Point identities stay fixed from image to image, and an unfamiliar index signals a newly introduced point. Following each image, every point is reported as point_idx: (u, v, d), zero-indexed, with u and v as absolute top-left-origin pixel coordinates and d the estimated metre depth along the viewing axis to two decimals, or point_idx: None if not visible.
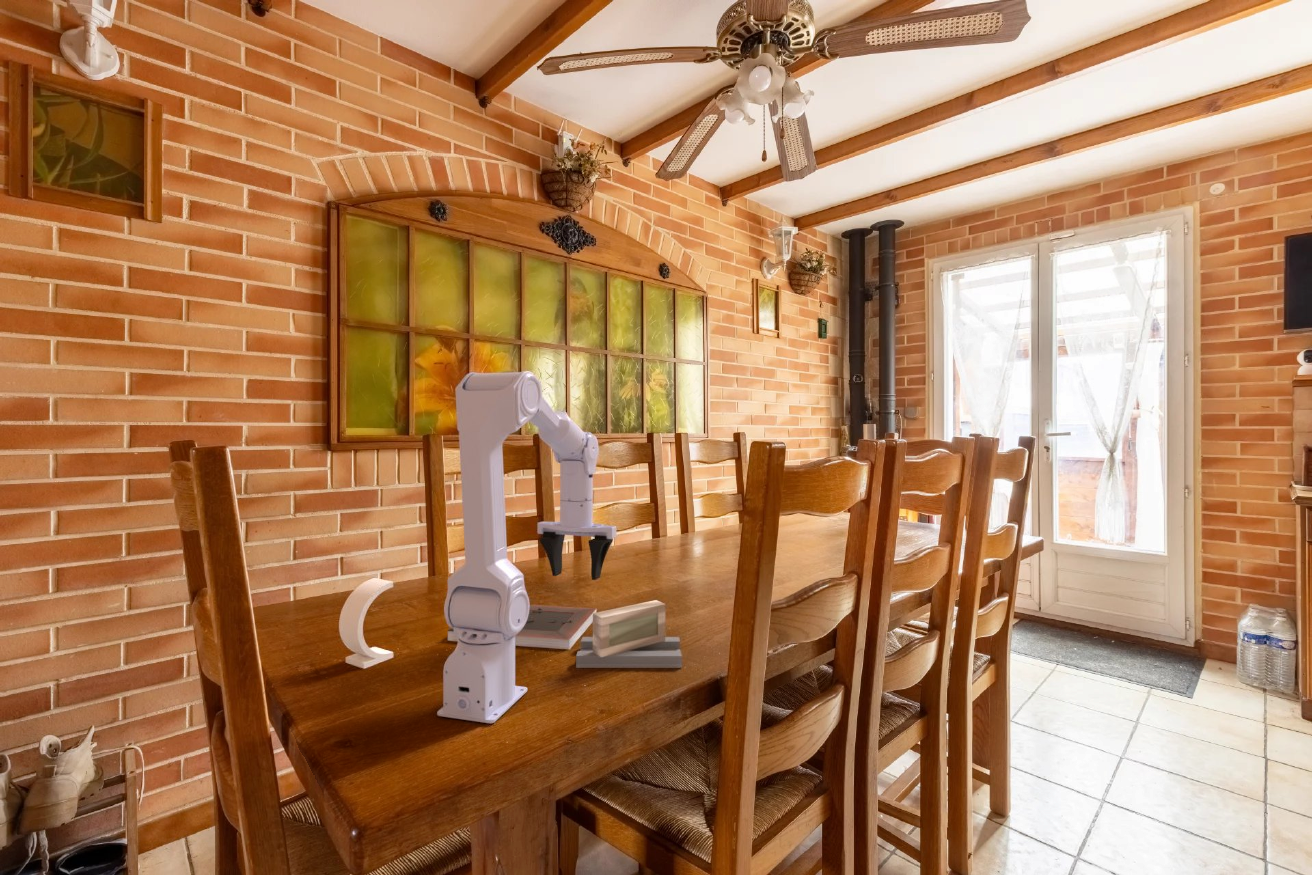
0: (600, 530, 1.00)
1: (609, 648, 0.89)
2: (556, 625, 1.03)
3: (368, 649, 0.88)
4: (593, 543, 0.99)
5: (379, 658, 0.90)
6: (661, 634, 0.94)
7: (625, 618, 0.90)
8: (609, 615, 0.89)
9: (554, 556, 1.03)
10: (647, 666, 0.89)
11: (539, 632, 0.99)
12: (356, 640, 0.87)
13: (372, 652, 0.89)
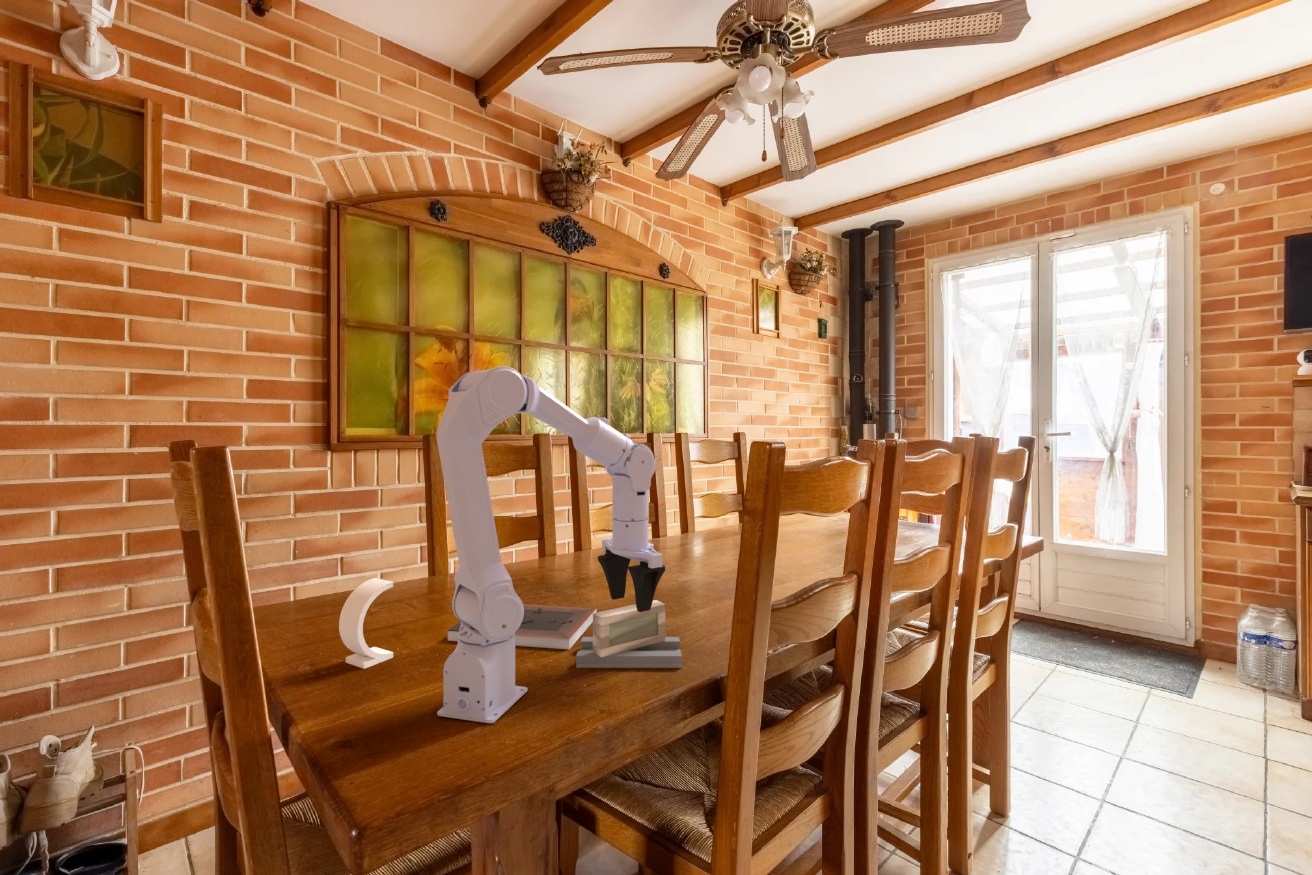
0: (642, 556, 0.87)
1: (609, 648, 0.89)
2: (556, 625, 1.03)
3: (368, 649, 0.88)
4: (631, 570, 0.87)
5: (379, 658, 0.90)
6: (661, 634, 0.94)
7: (625, 618, 0.90)
8: (609, 615, 0.89)
9: (611, 578, 0.95)
10: (647, 666, 0.89)
11: (539, 632, 0.99)
12: (356, 640, 0.87)
13: (372, 652, 0.89)
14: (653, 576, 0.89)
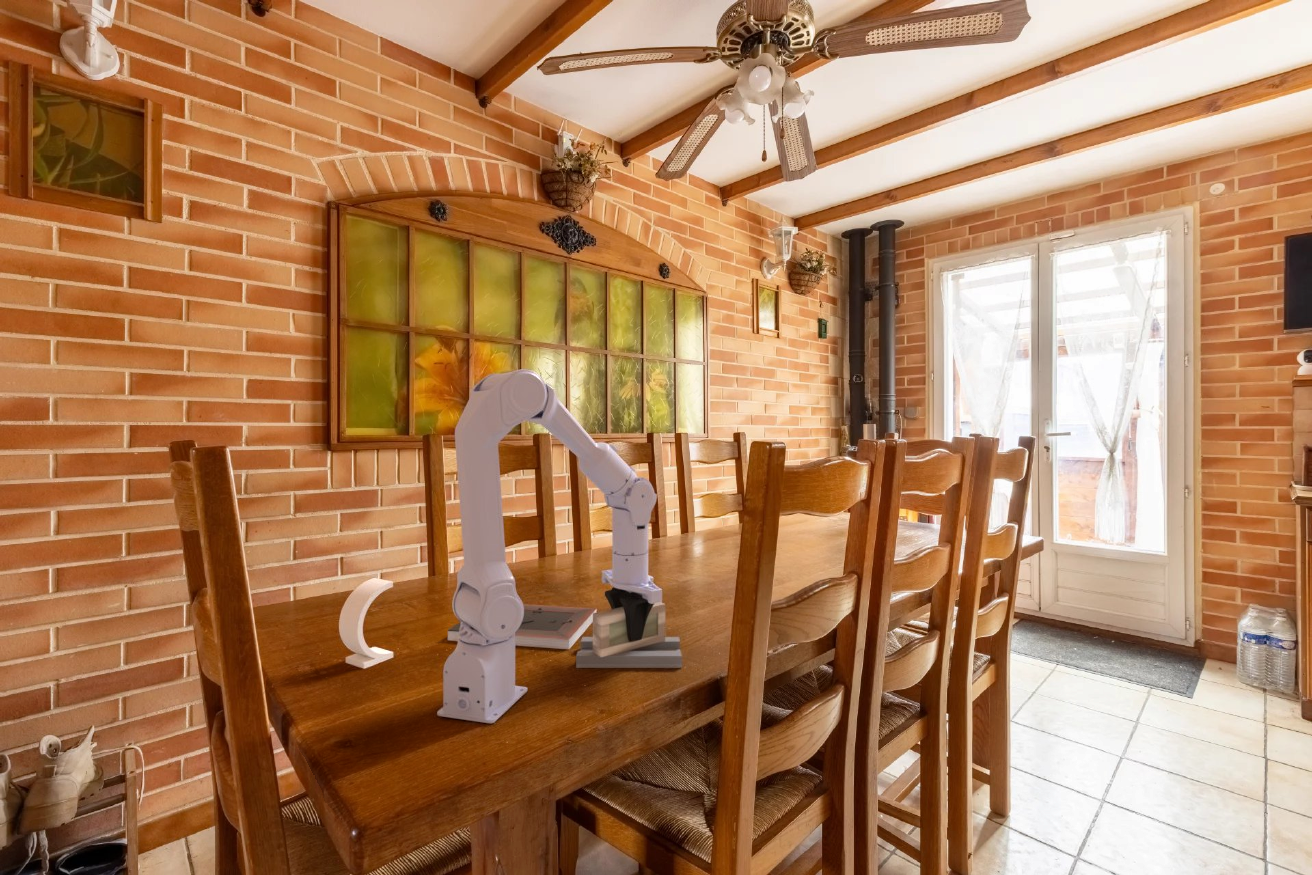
0: (641, 591, 0.87)
1: (609, 648, 0.89)
2: (555, 625, 1.03)
3: (368, 649, 0.88)
4: (623, 601, 0.89)
5: (379, 658, 0.90)
6: (661, 634, 0.94)
7: (625, 618, 0.90)
8: (609, 615, 0.89)
9: None
10: (647, 666, 0.89)
11: (539, 632, 0.99)
12: (356, 640, 0.87)
13: (372, 652, 0.89)
14: (644, 606, 0.91)
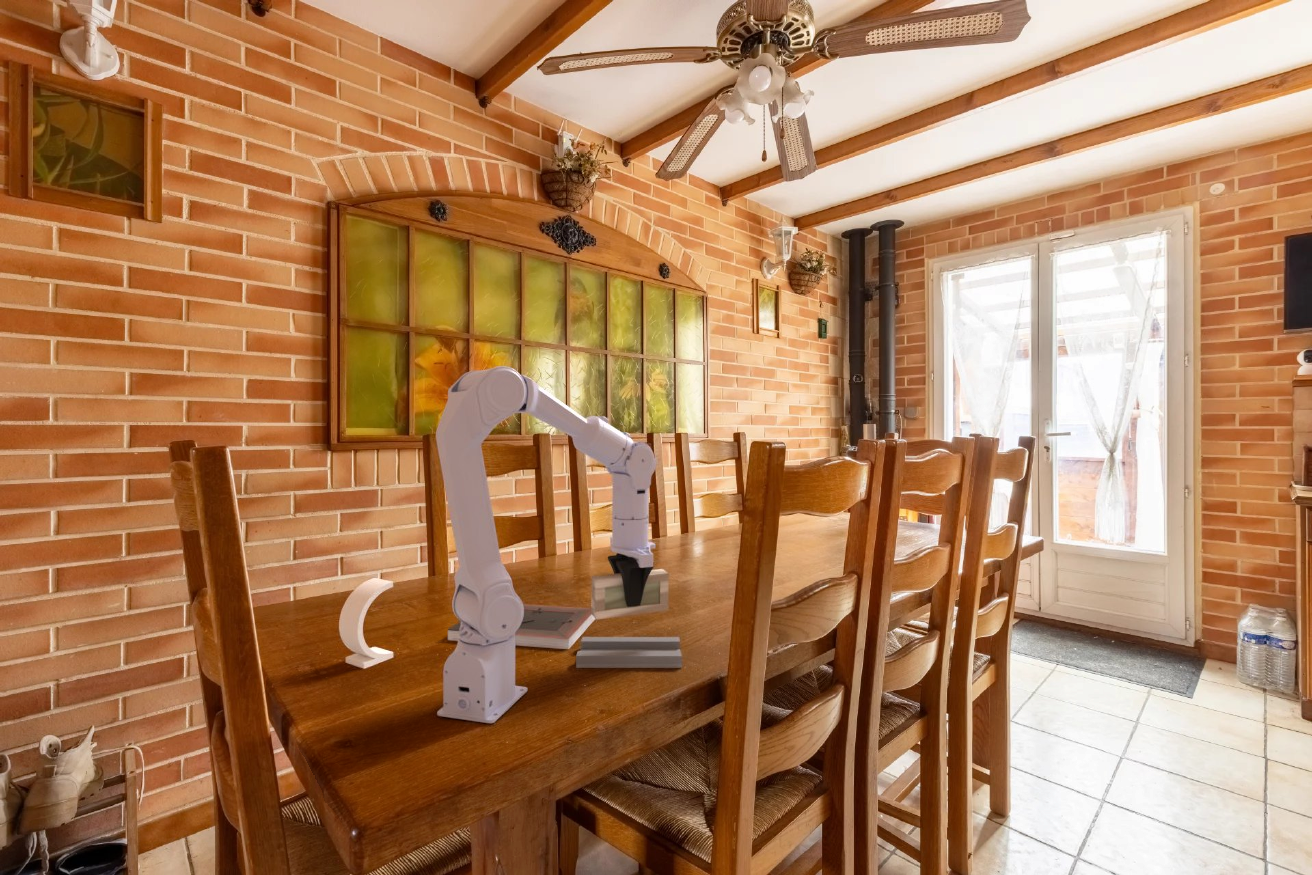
0: (633, 555, 0.87)
1: (605, 612, 0.90)
2: (555, 625, 1.03)
3: (368, 649, 0.88)
4: (618, 565, 0.89)
5: (379, 658, 0.90)
6: (663, 603, 0.93)
7: None
8: (606, 578, 0.90)
9: None
10: (647, 666, 0.89)
11: (539, 632, 0.99)
12: (356, 640, 0.87)
13: (372, 652, 0.89)
14: (642, 572, 0.90)
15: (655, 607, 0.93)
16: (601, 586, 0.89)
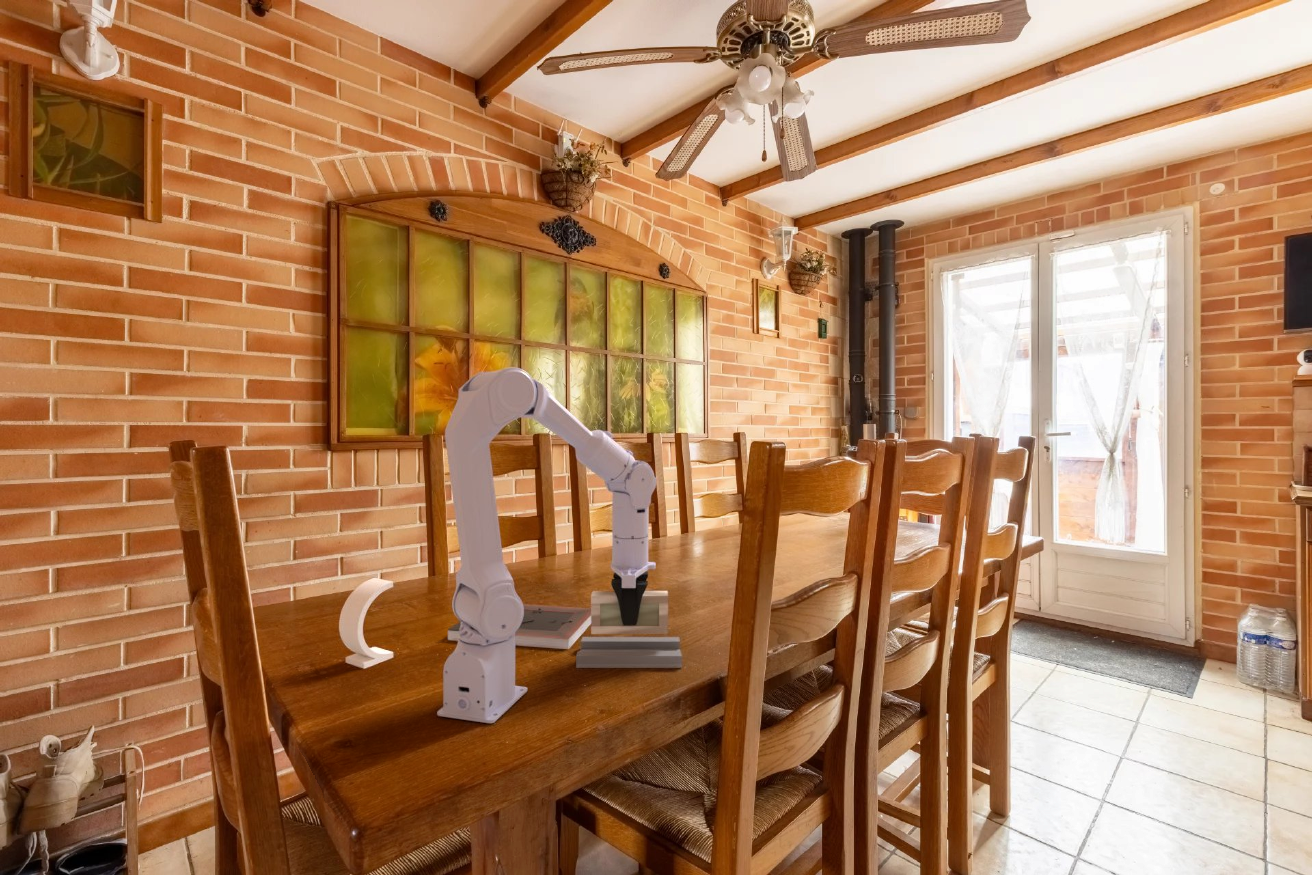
0: (620, 574, 0.87)
1: (600, 627, 0.91)
2: (555, 625, 1.03)
3: (368, 649, 0.88)
4: None
5: (379, 658, 0.90)
6: (663, 626, 0.91)
7: None
8: (601, 595, 0.91)
9: None
10: (647, 666, 0.89)
11: (539, 632, 0.99)
12: (356, 640, 0.87)
13: (372, 652, 0.89)
14: (636, 592, 0.90)
15: (653, 629, 0.91)
16: (596, 602, 0.91)
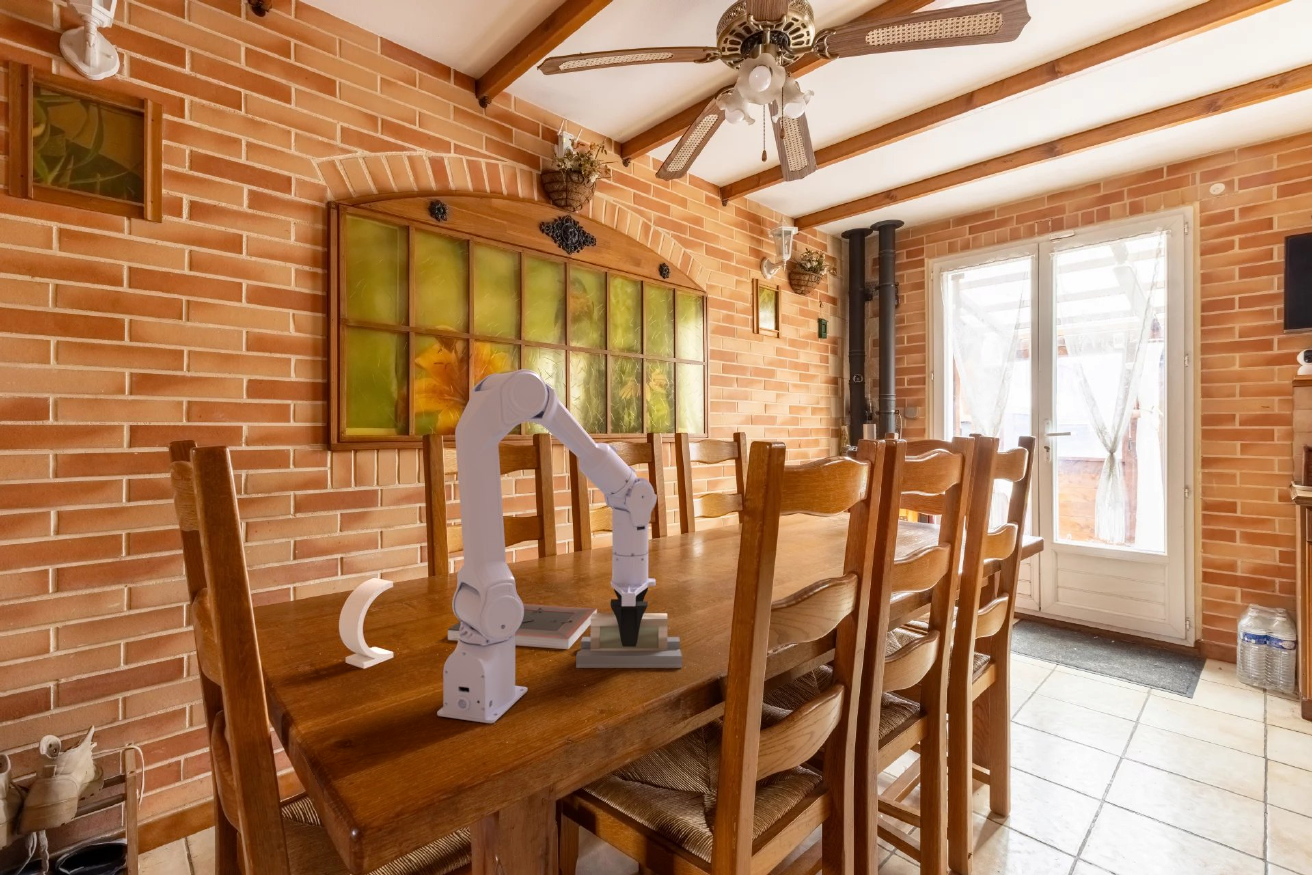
0: (619, 592, 0.87)
1: (599, 650, 0.91)
2: (555, 625, 1.03)
3: (368, 649, 0.88)
4: None
5: (379, 658, 0.90)
6: (662, 649, 0.91)
7: None
8: (601, 617, 0.91)
9: None
10: (647, 666, 0.89)
11: (538, 632, 0.99)
12: (356, 640, 0.87)
13: (372, 652, 0.89)
14: (636, 613, 0.88)
15: None
16: (596, 624, 0.91)
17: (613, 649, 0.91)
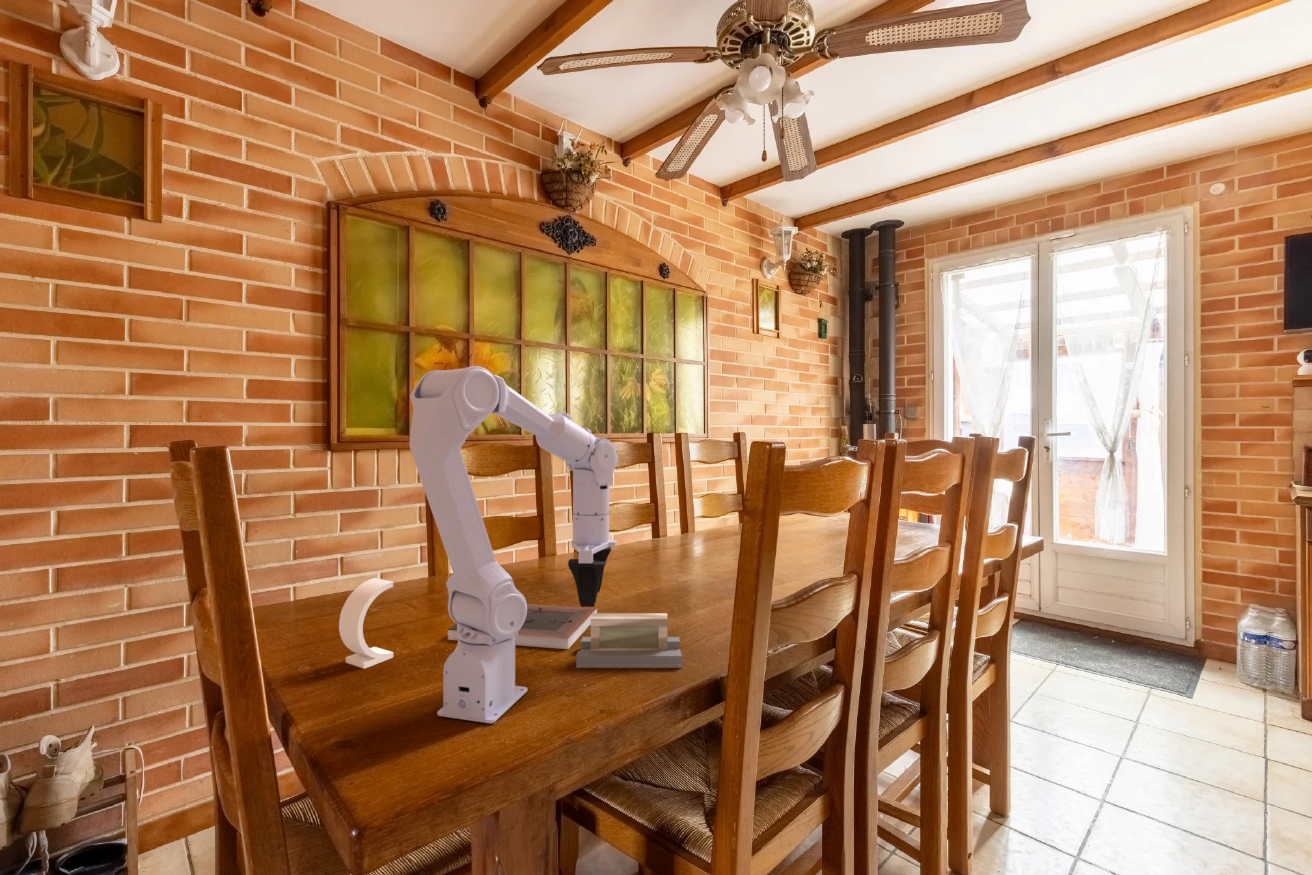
0: (577, 550, 0.87)
1: (599, 650, 0.91)
2: (555, 625, 1.03)
3: (368, 649, 0.88)
4: None
5: (379, 658, 0.90)
6: (662, 649, 0.91)
7: (618, 624, 0.91)
8: (601, 617, 0.91)
9: None
10: (647, 666, 0.89)
11: (538, 631, 0.99)
12: (356, 640, 0.87)
13: (372, 652, 0.89)
14: (594, 573, 0.87)
15: None
16: (596, 624, 0.91)
17: (613, 649, 0.91)
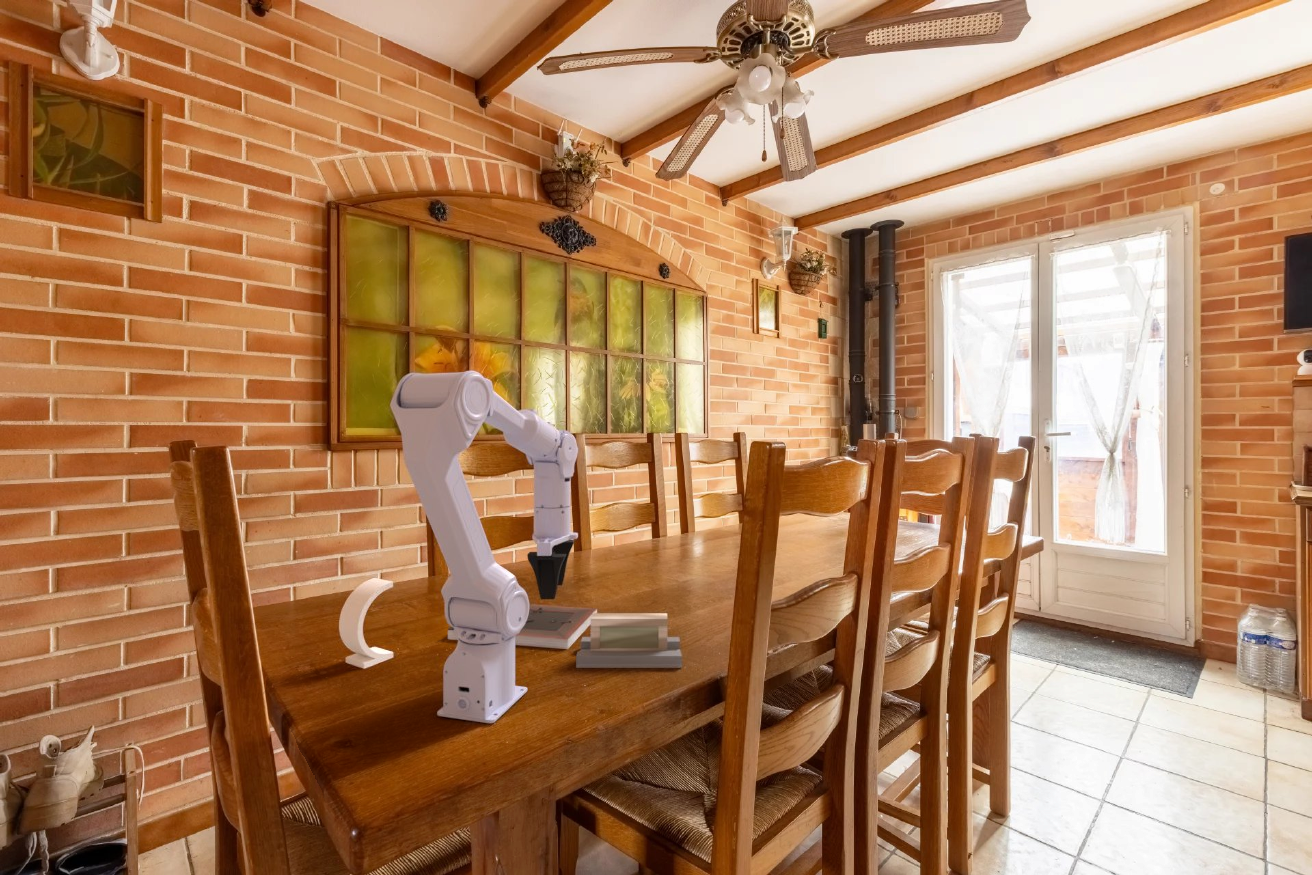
0: (537, 543, 0.87)
1: (599, 650, 0.91)
2: (555, 625, 1.03)
3: (368, 649, 0.88)
4: None
5: (379, 658, 0.90)
6: (662, 649, 0.91)
7: (618, 624, 0.91)
8: (601, 617, 0.91)
9: None
10: (647, 666, 0.89)
11: (538, 632, 0.99)
12: (356, 640, 0.87)
13: (372, 652, 0.89)
14: (554, 565, 0.88)
15: None
16: (596, 624, 0.91)
17: (613, 649, 0.91)
